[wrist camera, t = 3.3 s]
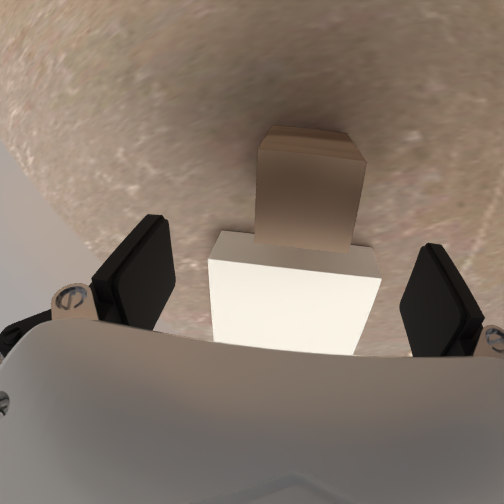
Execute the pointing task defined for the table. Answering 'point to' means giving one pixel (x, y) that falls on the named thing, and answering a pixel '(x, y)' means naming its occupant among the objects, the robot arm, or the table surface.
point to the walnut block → (307, 189)
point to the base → (290, 295)
